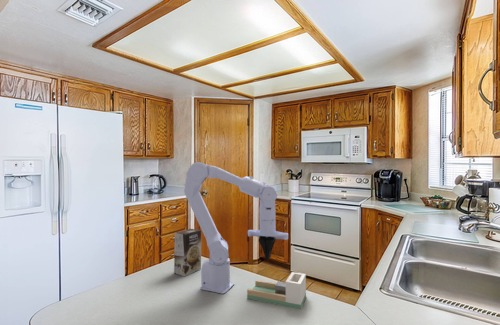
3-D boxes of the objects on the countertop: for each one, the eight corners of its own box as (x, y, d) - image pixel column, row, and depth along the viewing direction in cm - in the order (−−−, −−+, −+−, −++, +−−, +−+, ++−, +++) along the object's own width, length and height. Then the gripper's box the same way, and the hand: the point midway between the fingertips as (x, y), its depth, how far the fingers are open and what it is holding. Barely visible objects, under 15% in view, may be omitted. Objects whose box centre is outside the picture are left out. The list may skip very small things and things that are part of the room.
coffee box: (185, 276, 100) (185, 234, 100) (173, 273, 103) (173, 232, 104) (201, 269, 107) (201, 229, 108) (190, 266, 111) (190, 227, 111)
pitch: (247, 298, 83) (247, 275, 83) (256, 287, 90) (256, 266, 90) (300, 309, 76) (300, 284, 76) (305, 296, 84) (305, 274, 84)
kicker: (275, 294, 82) (275, 285, 82) (278, 290, 85) (277, 281, 85) (287, 297, 80) (287, 287, 80) (290, 292, 83) (290, 283, 83)
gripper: (290, 218, 94) (290, 257, 93) (252, 216, 99) (253, 252, 99) (285, 222, 87) (285, 263, 87) (245, 219, 93) (245, 258, 92)
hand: (267, 258), depth 92 cm, fingers closed
